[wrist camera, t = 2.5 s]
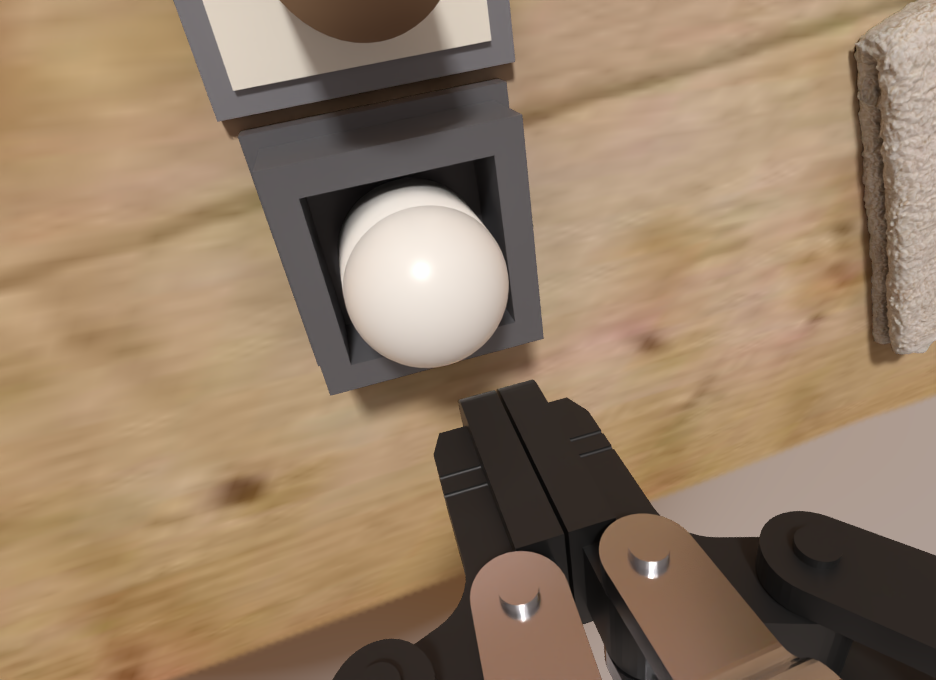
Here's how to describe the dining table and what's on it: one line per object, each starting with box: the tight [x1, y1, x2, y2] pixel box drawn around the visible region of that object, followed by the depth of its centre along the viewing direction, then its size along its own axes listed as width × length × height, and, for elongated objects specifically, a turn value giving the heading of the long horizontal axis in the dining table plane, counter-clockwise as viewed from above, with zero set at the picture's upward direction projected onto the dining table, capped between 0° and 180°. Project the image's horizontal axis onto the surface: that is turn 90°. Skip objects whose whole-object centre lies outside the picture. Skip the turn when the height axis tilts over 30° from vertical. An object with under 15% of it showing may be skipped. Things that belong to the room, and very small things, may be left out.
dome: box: [337, 178, 509, 368], centre depth 18 cm, size 5×5×6 cm
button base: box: [238, 79, 544, 396], centre depth 21 cm, size 9×9×4 cm
